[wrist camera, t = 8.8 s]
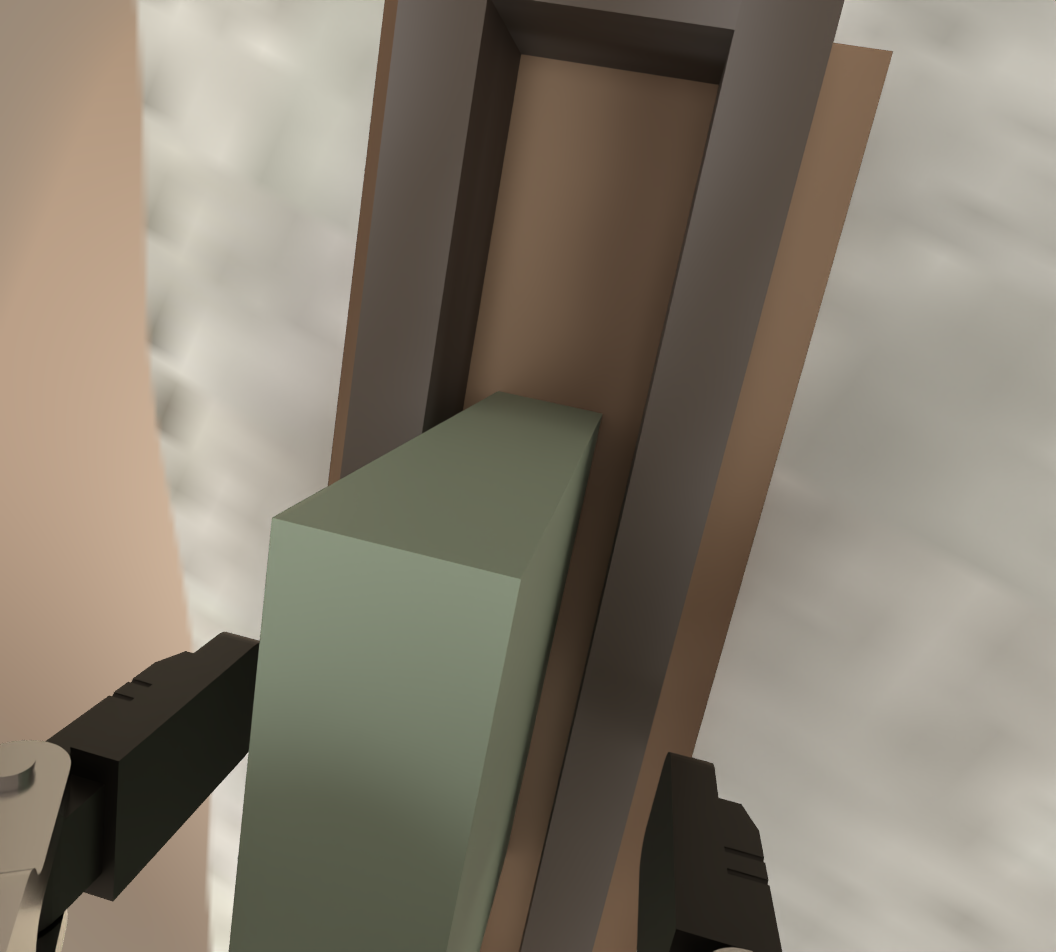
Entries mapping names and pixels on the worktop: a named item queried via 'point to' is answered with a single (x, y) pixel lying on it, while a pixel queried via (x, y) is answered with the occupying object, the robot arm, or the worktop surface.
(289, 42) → the worktop surface
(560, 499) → the door panel
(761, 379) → the door track
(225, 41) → the worktop surface
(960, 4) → the worktop surface
